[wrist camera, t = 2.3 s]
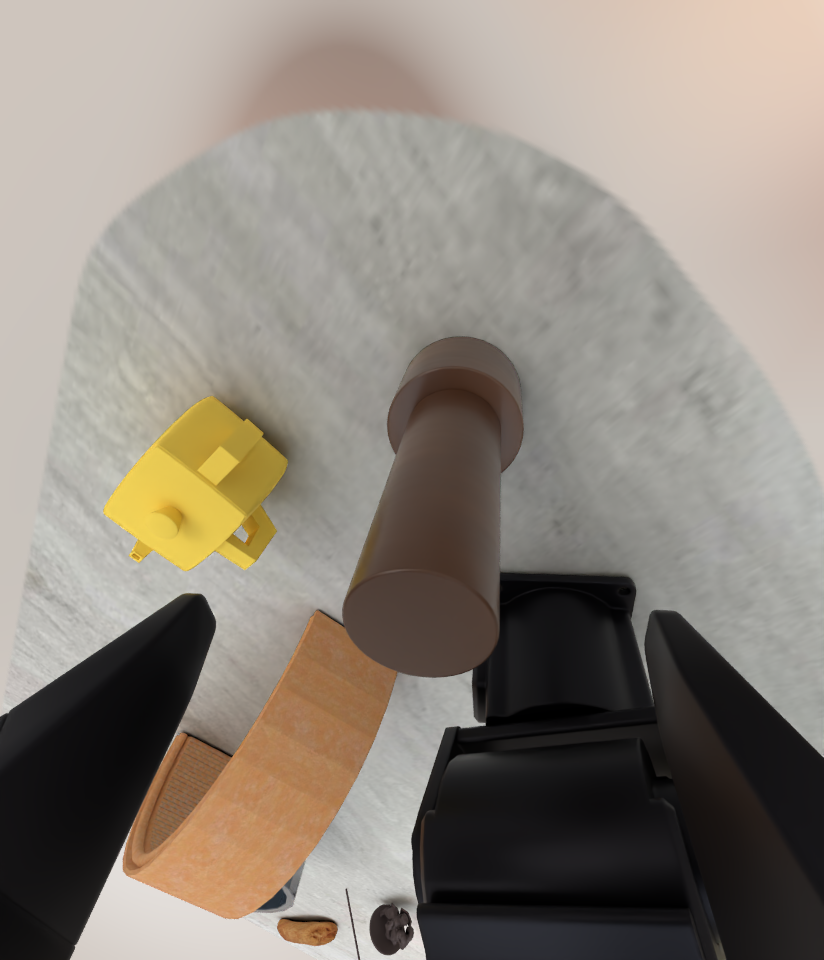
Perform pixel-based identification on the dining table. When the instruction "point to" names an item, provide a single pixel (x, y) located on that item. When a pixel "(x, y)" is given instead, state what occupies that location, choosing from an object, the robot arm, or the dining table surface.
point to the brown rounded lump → (307, 932)
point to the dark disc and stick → (388, 929)
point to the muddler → (439, 515)
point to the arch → (262, 782)
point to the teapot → (200, 490)
